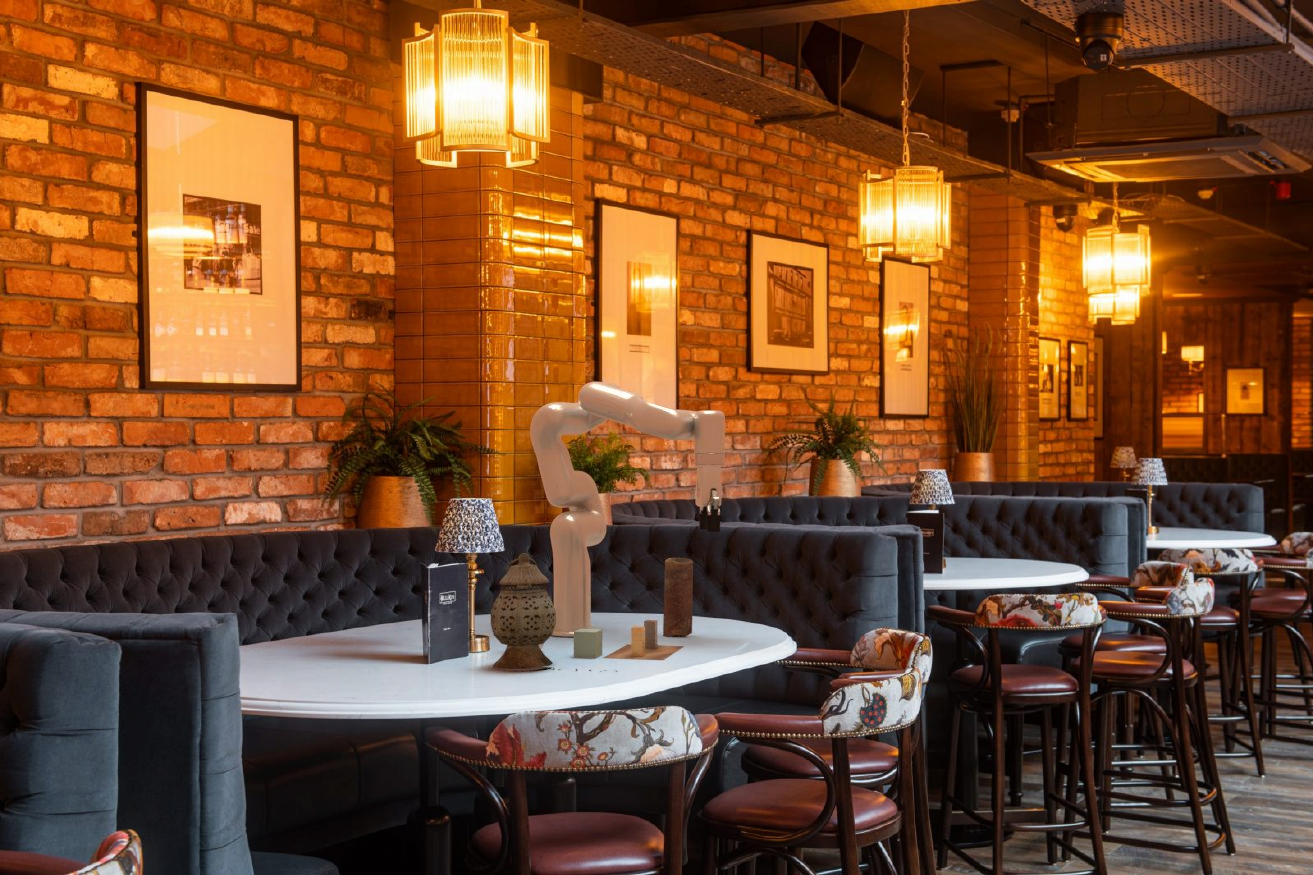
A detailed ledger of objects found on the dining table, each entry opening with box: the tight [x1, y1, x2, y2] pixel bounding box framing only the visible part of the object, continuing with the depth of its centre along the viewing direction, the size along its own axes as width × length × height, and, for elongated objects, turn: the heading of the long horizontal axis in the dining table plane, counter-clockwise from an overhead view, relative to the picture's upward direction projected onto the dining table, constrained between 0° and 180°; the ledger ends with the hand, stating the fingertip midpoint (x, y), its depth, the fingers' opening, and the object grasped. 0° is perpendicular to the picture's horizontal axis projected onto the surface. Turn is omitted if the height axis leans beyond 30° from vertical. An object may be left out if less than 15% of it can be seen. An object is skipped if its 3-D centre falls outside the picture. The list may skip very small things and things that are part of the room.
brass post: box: [630, 625, 645, 657], centre depth 312 cm, size 3×3×6 cm
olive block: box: [573, 628, 603, 659], centre depth 312 cm, size 5×5×7 cm
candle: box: [662, 557, 694, 638], centre depth 348 cm, size 8×7×20 cm
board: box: [602, 643, 685, 661], centre depth 318 cm, size 14×22×1 cm, turn 166°
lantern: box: [490, 552, 556, 673], centre depth 302 cm, size 14×14×25 cm
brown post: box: [643, 619, 658, 649], centre depth 324 cm, size 3×3×6 cm
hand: (709, 530), depth 337 cm, fingers open, 9 cm apart
